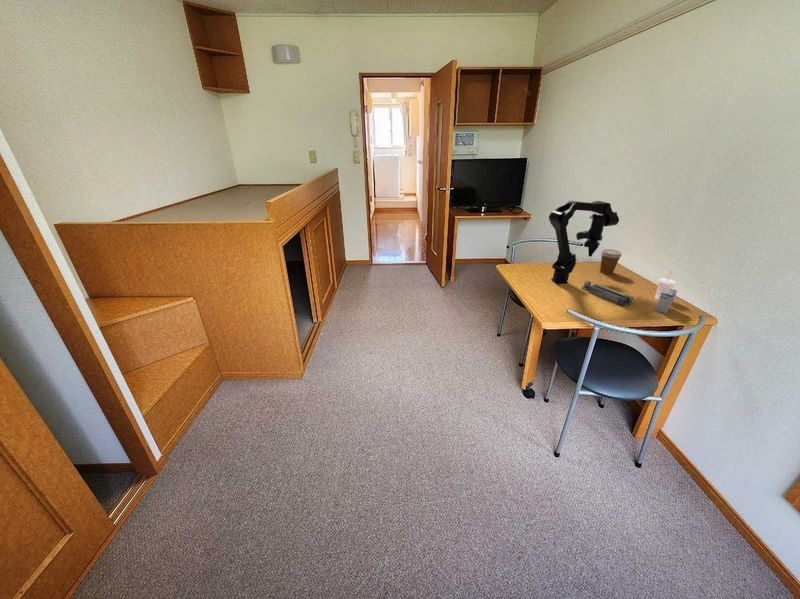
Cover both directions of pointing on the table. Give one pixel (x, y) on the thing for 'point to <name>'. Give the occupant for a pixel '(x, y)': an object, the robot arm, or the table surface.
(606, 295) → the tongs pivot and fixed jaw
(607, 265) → the disposable coffee cup
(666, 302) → the medicine box
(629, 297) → the bar
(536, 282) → the table surface
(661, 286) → the beverage cup
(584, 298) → the table surface
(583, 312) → the table surface
